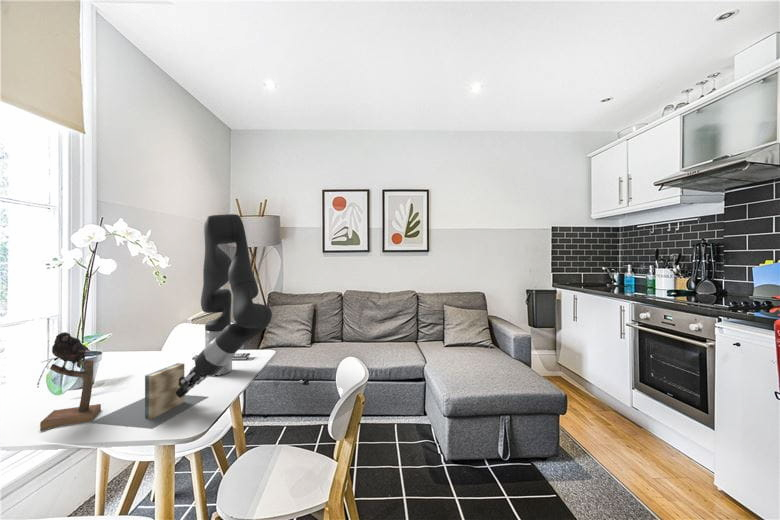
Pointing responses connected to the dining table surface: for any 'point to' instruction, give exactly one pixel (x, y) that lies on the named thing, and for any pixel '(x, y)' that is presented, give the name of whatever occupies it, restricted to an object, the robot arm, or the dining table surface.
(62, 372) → the bird figurine
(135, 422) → the mat
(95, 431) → the dining table surface
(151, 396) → the board
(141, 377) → the dining table surface
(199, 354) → the robot arm
